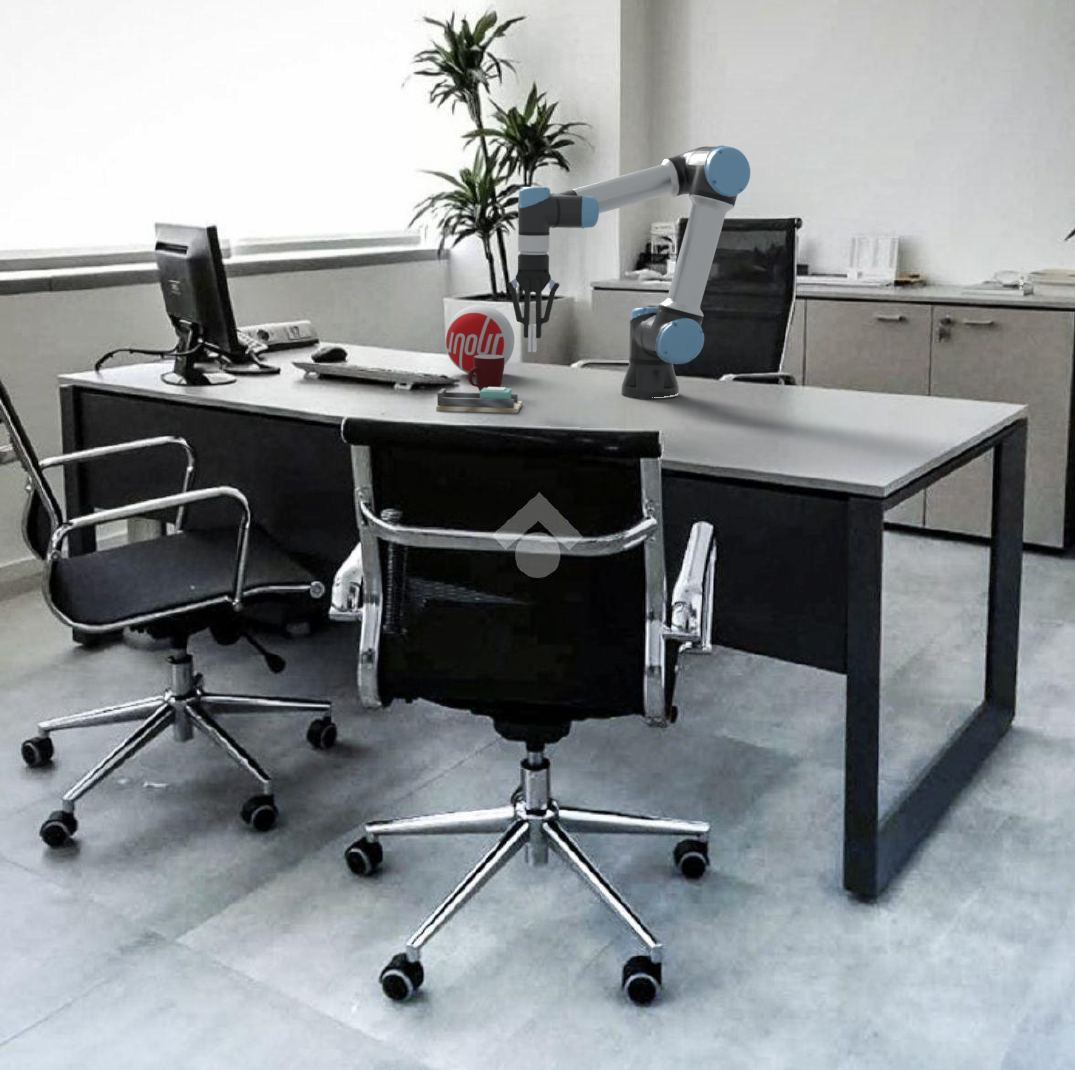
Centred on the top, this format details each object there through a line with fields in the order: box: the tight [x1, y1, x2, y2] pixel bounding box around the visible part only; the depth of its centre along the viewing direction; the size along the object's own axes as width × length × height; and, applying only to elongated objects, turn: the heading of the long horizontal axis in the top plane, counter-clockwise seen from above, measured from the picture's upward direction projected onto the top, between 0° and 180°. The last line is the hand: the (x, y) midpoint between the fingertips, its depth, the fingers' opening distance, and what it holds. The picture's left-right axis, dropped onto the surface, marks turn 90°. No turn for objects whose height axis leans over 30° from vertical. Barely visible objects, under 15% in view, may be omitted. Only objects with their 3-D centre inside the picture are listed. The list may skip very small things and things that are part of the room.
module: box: [479, 386, 513, 399], centre depth 327 cm, size 7×6×4 cm
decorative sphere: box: [444, 304, 515, 376], centre depth 376 cm, size 20×20×20 cm
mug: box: [467, 355, 505, 392], centre depth 345 cm, size 10×8×10 cm
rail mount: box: [435, 387, 523, 414], centre depth 328 cm, size 20×11×4 cm, turn 85°
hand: (532, 351), depth 323 cm, fingers closed
